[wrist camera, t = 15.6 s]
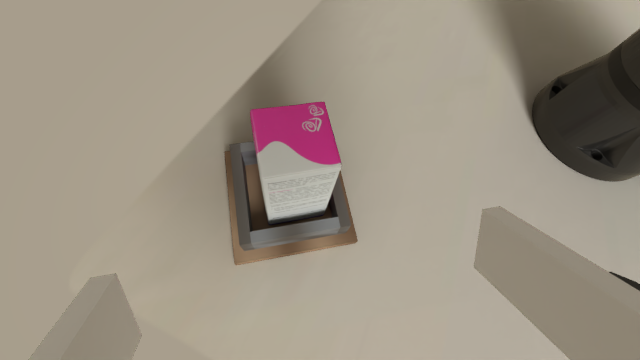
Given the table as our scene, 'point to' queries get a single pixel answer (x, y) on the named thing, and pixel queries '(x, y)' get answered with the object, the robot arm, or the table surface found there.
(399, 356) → the table surface
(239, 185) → the socket
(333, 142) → the supplement box
